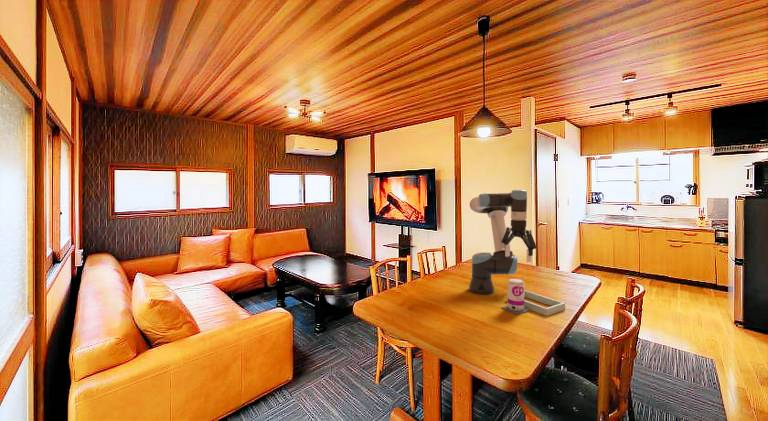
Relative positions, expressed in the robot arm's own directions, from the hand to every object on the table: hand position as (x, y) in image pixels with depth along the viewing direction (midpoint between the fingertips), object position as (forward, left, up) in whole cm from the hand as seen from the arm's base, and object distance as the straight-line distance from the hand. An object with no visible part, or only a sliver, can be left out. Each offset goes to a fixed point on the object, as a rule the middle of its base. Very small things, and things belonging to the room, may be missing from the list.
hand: (517, 259), depth 161 cm
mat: (+2, -4, -26) cm, 26 cm away
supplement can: (+2, -4, -26) cm, 26 cm away
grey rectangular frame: (+3, +10, -26) cm, 28 cm away
